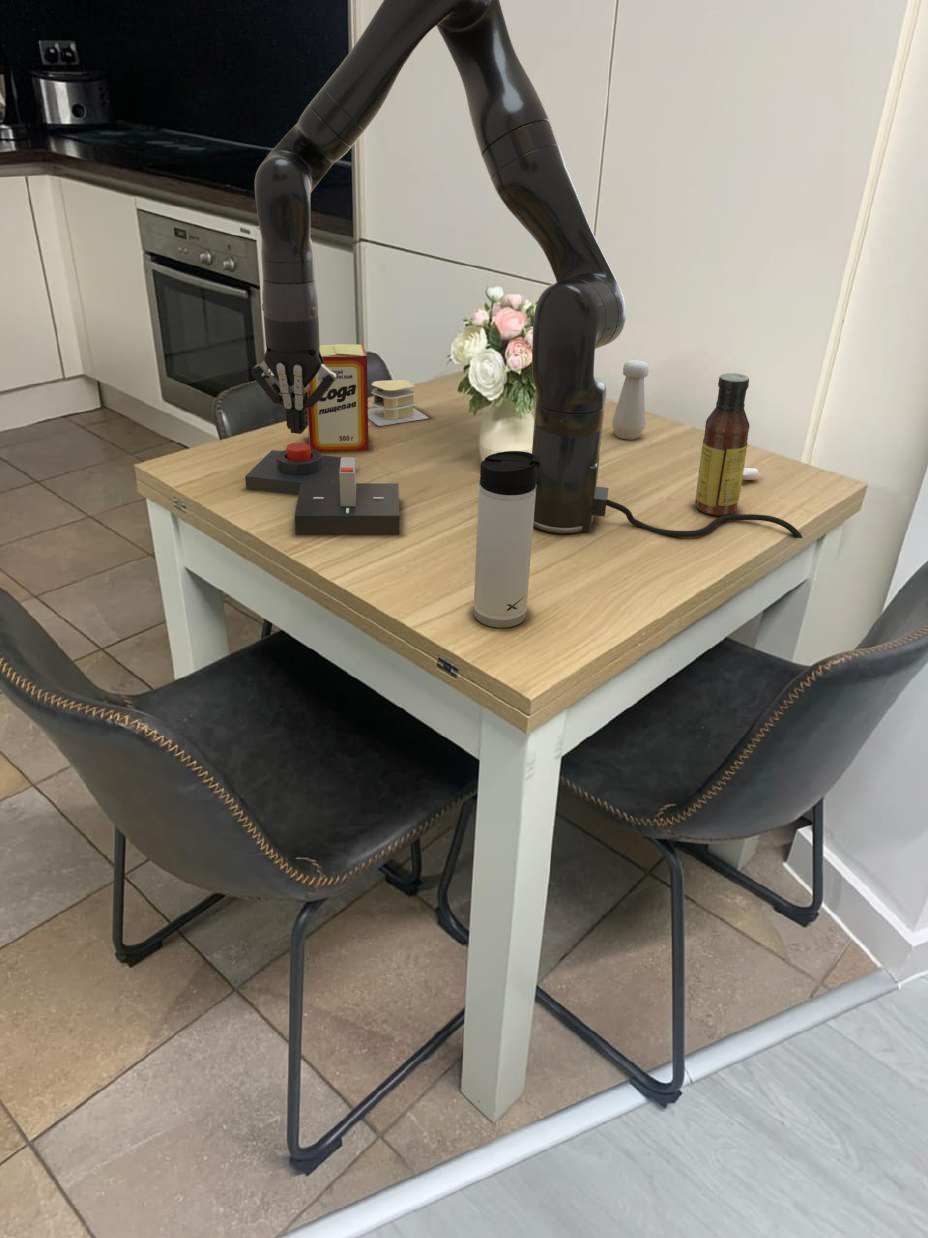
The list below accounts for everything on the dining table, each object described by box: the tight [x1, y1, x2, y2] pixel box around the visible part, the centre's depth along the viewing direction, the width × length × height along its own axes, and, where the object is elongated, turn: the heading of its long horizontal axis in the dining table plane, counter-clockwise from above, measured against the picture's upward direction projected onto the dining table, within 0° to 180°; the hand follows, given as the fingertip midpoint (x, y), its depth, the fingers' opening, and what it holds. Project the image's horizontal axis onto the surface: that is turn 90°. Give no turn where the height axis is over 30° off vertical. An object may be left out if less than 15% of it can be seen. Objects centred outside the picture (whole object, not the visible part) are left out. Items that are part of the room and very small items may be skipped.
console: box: [294, 482, 400, 536], centre depth 133 cm, size 14×11×3 cm
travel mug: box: [473, 450, 542, 629], centre depth 107 cm, size 6×7×20 cm
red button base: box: [244, 449, 342, 496], centre depth 143 cm, size 13×11×4 cm
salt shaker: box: [611, 359, 650, 441], centre depth 163 cm, size 6×6×13 cm
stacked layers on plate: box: [368, 379, 429, 427], centre depth 170 cm, size 10×9×6 cm
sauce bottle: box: [695, 372, 750, 517], centre depth 136 cm, size 6×6×20 cm
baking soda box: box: [307, 343, 370, 453], centre depth 154 cm, size 10×6×16 cm
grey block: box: [339, 456, 357, 506], centre depth 131 cm, size 6×2×5 cm, turn 4°
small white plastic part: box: [742, 465, 760, 481], centre depth 149 cm, size 4×6×3 cm, turn 89°
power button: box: [285, 442, 311, 461], centre depth 142 cm, size 4×4×2 cm
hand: (297, 431), depth 141 cm, fingers closed
